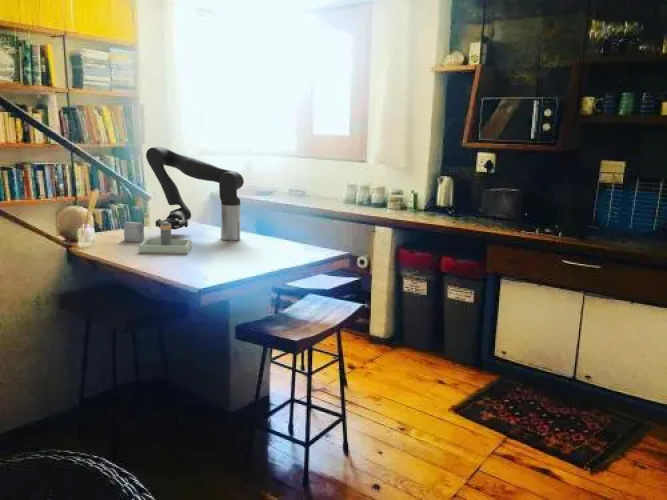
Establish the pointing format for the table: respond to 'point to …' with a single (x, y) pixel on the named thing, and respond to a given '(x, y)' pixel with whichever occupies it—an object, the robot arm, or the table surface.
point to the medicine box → (134, 231)
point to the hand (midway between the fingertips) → (169, 225)
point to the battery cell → (165, 233)
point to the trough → (165, 247)
